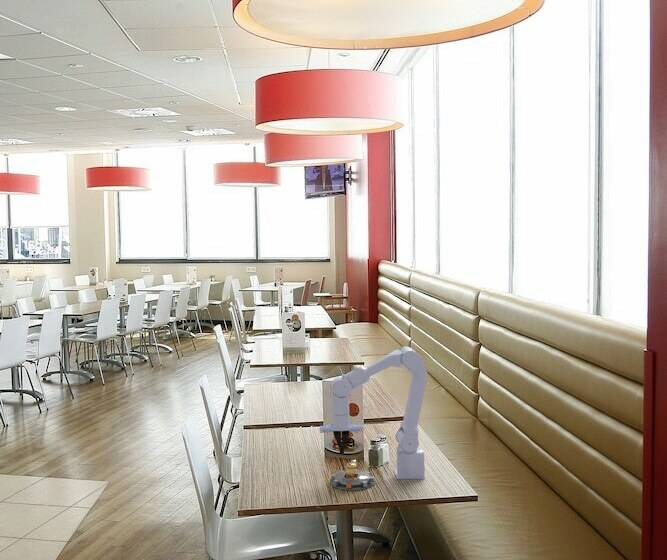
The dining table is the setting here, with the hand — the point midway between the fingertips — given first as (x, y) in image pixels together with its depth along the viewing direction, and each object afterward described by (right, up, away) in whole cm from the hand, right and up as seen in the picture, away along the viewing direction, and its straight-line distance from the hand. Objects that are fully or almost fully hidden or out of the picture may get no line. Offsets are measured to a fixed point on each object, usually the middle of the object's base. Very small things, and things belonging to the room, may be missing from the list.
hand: (341, 452), depth 246 cm
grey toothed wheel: (+4, -9, -3) cm, 10 cm away
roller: (+3, -7, -6) cm, 10 cm away
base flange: (+4, -9, -3) cm, 10 cm away
